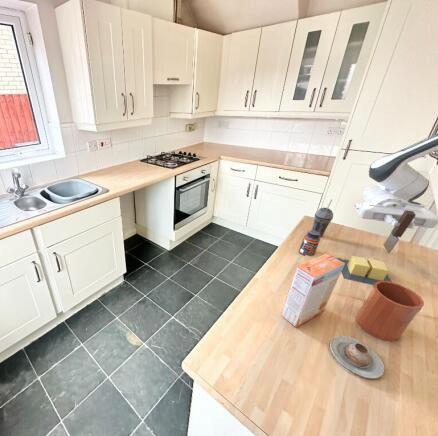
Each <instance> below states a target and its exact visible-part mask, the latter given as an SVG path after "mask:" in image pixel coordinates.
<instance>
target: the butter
mask: <svg viewBox="0 0 438 436" xmlns="http://www.w3.org/2000/svg"><path fill="white" fill-rule="evenodd" d="M348 260H349V262H348V264H347V266H348V269H349V271H350V274H353V275H358V276H362V277H365V275H366V274H367V276H368V278H371V279H376V280H380V281H383V280H384V278H385V276H386V275H388V273H389V268H387V266H386V264H385V262H384V261H382V260H377V259H373V258H368V259H367V258H366V257H363V256H357V255H351V256H350V258H349V259H348Z"/></svg>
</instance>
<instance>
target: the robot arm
mask: <svg viewBox="0 0 438 436" xmlns="http://www.w3.org/2000/svg"><path fill="white" fill-rule="evenodd" d="M437 151H438V133H436V134H433V135H431V136H429V137H426V138H424V139H422V140H420V141H418V142H416V143H414V144H410V145H409V146H407V147H404V148H402V149H400V150H398V151H395V152H393V153H389V154H387V155H384V156H382V157H380V158H378V159H376V160H374V161H373V162H372V163H371V164H370V166H369V168H368V177H369V178H370V179H372V180H373V181H375V182H376V184H375V183H374V184H370V185H369V186H367V187H365V189H364V191H363V192H362V199H363V201H364V202H360V203H355V204H354V209H356V213H357V216H358V218H360V219H365V220H369V221H370V220H371V221H376V222H377V221H379V222H385V223H388V224H390V225H391V226H393V227H395V226H397V227H399V226H400V224H401V222H400V220H399V219H400V217H401V216H402V214H403V213H404V211H405V210H406V211H413V212H414V213H415V214H416V216H415V217H414V219H413V220H412V222H411V223H410V224H409V226H408V227H407V229H409V230H410V229H411V230H413V229H414V228H415V227H419V228H426V229H435V227H436V226H437V225H438V215H437V214H436V213H434V212H433V210H432V211H431V210H430V209H429V208H426V207H425V206H426V205H425V204H424V203H421V202H417V201H415V200H418V199H419V198H420V197H421V196H423V195H424V194H425V193H426V192H427V190H428V189H429V185H430V180H429V179H428V178H427V177H425V176H424V175H423V174H422V173H420V172H419V171H417V170H416V169H415V168H413V167H412V166H411V165H410V164H409V163H410V162H412V161H415V160H417V159H420V158H422V157H425V156H427V155H429V154H432V153H435V152H437Z"/></svg>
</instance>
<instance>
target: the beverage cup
mask: <svg viewBox="0 0 438 436" xmlns="http://www.w3.org/2000/svg"><path fill="white" fill-rule="evenodd" d="M332 202H333V199H330V201H329V203H328V205H327V207H321V208H318V209H317V210H316V211H315V213H314V219H313V224H312V228H311V230H315V231H317V232H319V233H320V234H319V238H322V237H323V236H324V234H325V232H326V231H327V228H328V226H329V225H330V223H331V221H332V220H333V219H334V213H333V211H332V209H330V206H331V203H332Z"/></svg>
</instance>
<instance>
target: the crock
mask: <svg viewBox="0 0 438 436" xmlns="http://www.w3.org/2000/svg"><path fill="white" fill-rule="evenodd" d="M424 302H425V301H424V300H423V298H422V297H421V296H420V295H419V294H418V293H417V292H416V291H413V290H412V289H410V288H409V287H407V286H404V285H402V284H400V283H396V282H393V281H392V282H389V281H378V282H376V283H375V284H374V285H372V287H371V289H370V291H369V293H368V294H367V296H366V298H365V300H364V301H363V303H362V305H361V306H360V308H359V310H358V312H357V313H356V316H355V320H356V322H357V325H359V327H360V328H361V329H362V330H363V331H364V332H366V333H367V334H369V335H371V336H372V337H375V338H377V339H379V340H382V341H386V342H395V341H397V340H399V338H400V337H402V336H403V334H404V333H405V331H406V330H407V328H408V327H409V326H410V325H411V323H412V322H413V321H414V319H415V318H416V317H417V315H418V313H420V311H421V310H422V309H423V308H424V306H425V303H424Z"/></svg>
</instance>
